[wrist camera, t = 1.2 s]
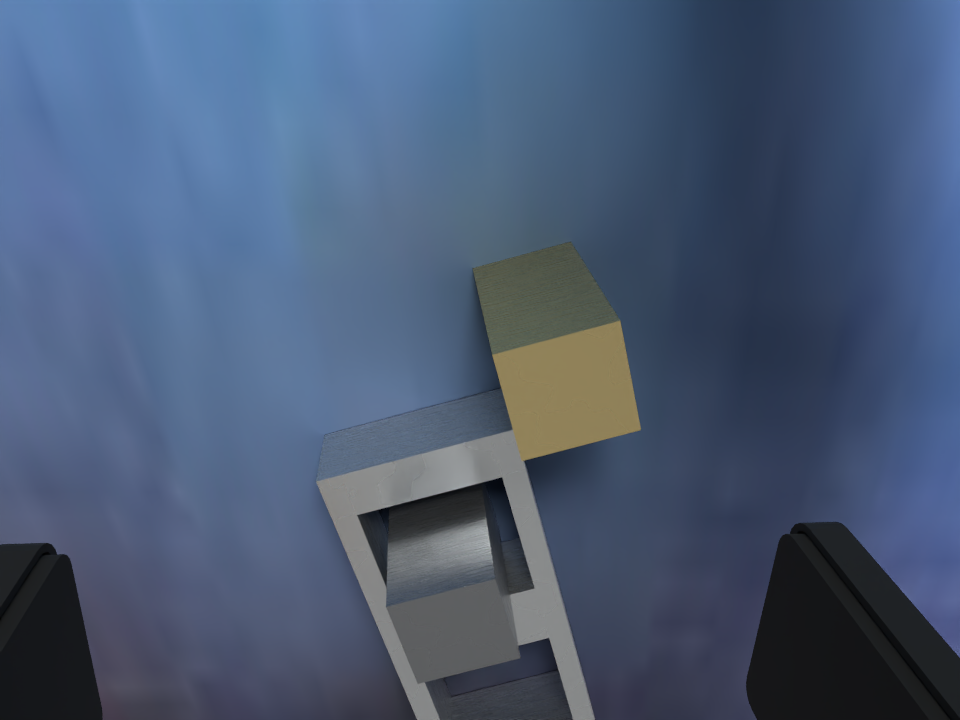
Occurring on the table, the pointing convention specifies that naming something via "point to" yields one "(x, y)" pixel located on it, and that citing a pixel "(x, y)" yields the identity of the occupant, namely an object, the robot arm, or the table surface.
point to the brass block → (556, 351)
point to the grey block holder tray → (529, 567)
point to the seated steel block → (449, 584)
